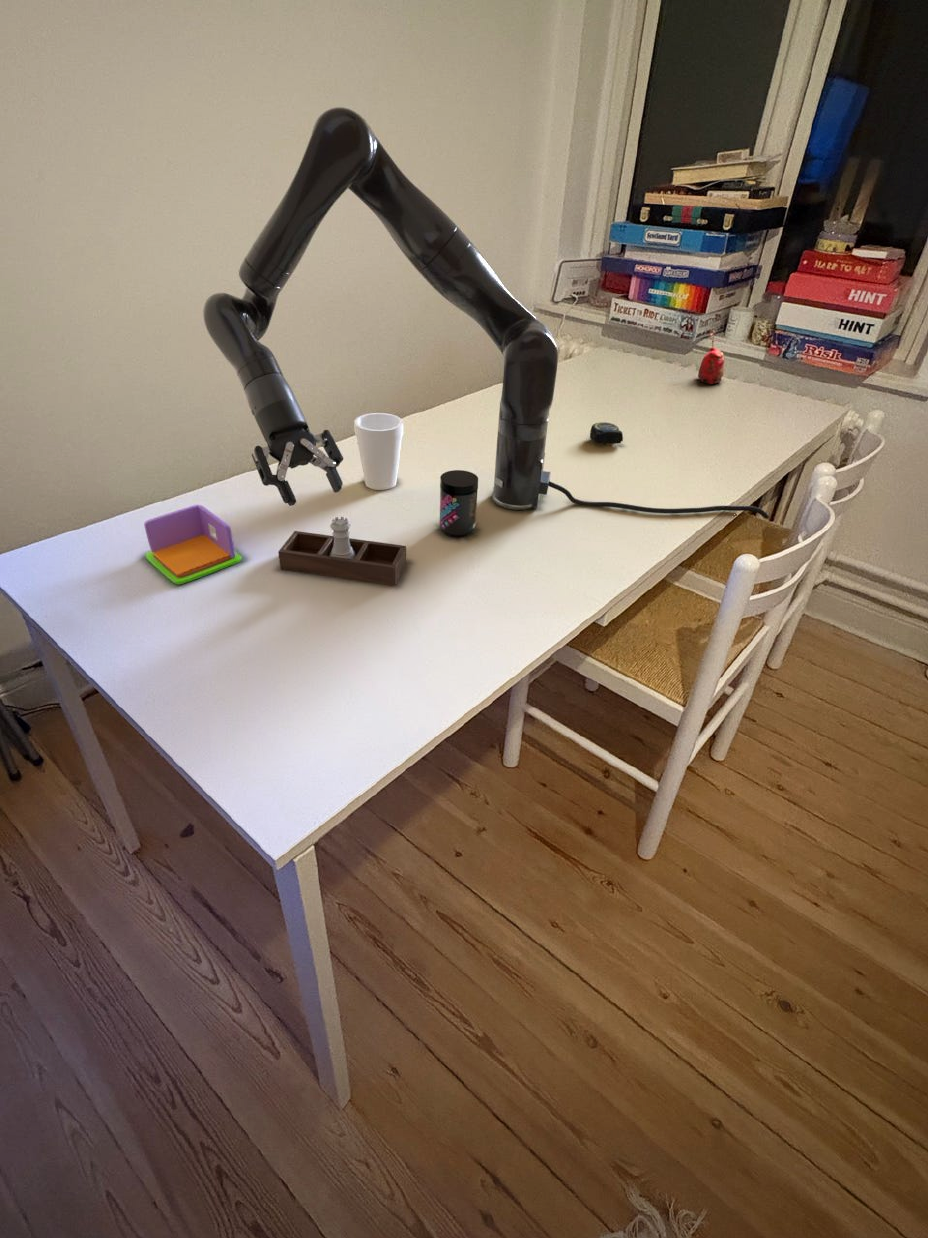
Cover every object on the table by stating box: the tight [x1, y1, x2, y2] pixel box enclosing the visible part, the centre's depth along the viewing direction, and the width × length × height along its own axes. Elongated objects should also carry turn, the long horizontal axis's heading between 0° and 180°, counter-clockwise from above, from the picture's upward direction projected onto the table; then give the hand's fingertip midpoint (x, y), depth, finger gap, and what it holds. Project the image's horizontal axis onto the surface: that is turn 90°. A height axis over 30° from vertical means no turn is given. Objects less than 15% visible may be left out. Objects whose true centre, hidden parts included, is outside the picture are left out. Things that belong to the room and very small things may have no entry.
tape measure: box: [589, 421, 624, 446], centre depth 164 cm, size 7×7×4 cm
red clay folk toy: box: [697, 326, 725, 385], centre depth 201 cm, size 8×7×15 cm
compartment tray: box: [277, 530, 407, 587], centre depth 115 cm, size 7×20×4 cm, turn 79°
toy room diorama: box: [143, 504, 242, 586], centre depth 114 cm, size 12×12×7 cm
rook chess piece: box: [330, 516, 356, 559], centre depth 114 cm, size 4×4×8 cm
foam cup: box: [353, 412, 404, 491], centre depth 138 cm, size 10×9×13 cm
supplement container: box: [438, 469, 479, 539], centre depth 125 cm, size 7×7×10 cm
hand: (316, 497), depth 115 cm, fingers open, 8 cm apart
